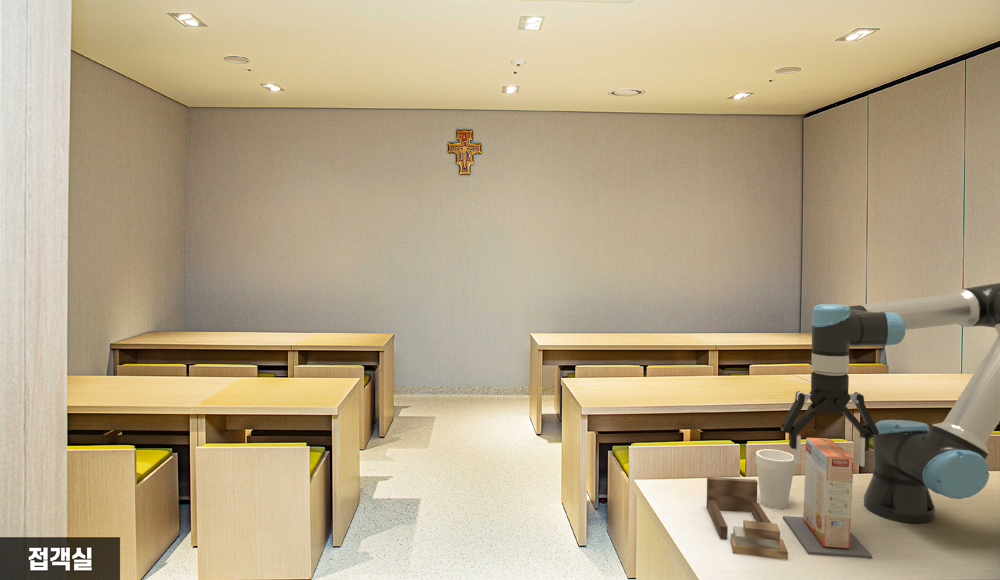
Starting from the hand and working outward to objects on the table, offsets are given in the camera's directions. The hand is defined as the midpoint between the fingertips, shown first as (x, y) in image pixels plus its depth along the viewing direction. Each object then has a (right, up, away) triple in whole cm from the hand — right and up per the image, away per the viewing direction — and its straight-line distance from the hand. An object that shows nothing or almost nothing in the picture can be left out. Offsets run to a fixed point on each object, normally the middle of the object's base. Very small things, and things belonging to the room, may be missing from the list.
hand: (828, 463), depth 139 cm
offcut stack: (-18, -18, -5) cm, 26 cm away
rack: (-17, -17, +8) cm, 26 cm away
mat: (0, -17, +1) cm, 17 cm away
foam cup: (-3, -16, +20) cm, 26 cm away
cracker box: (0, -17, +1) cm, 17 cm away
